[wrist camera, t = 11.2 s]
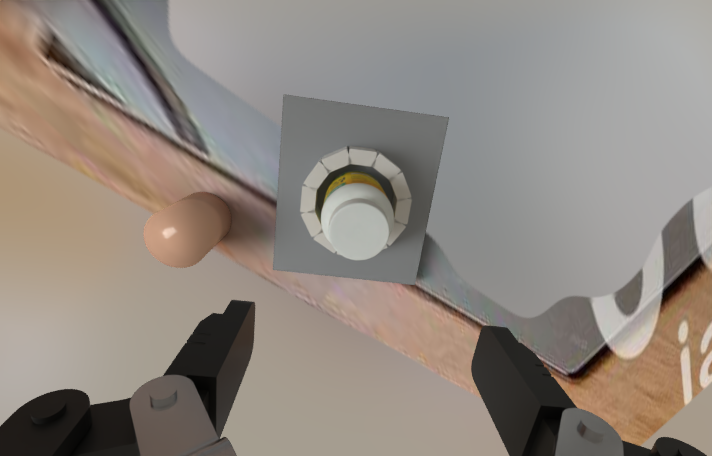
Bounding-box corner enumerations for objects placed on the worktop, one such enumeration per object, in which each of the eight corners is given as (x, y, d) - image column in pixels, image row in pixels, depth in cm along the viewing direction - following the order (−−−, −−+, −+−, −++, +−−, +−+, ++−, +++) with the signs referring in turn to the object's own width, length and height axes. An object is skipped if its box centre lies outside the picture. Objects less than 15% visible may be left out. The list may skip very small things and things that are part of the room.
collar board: (275, 263, 35) (267, 281, 31) (286, 95, 30) (277, 92, 26) (412, 278, 36) (419, 297, 32) (444, 117, 31) (457, 118, 27)
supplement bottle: (368, 235, 33) (377, 282, 24) (316, 212, 32) (304, 253, 23) (394, 183, 31) (414, 213, 22) (340, 158, 30) (337, 179, 21)
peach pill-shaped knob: (179, 238, 34) (145, 264, 28) (177, 188, 32) (141, 205, 27) (231, 244, 34) (208, 270, 29) (232, 195, 33) (207, 212, 27)
